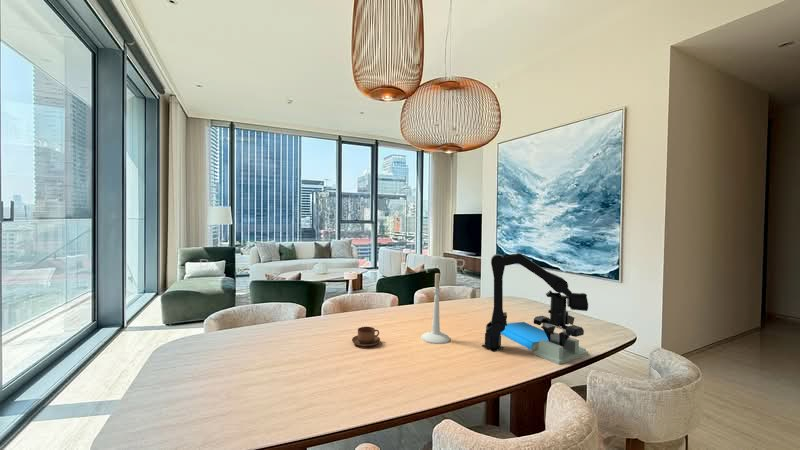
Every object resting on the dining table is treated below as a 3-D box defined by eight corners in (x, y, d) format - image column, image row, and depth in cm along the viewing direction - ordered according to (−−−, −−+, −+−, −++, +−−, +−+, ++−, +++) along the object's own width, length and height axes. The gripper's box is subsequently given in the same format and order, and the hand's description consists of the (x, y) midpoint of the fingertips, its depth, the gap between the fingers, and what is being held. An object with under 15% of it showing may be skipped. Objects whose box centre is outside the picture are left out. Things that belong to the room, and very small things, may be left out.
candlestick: (440, 346, 144) (442, 276, 143) (415, 339, 151) (417, 272, 151) (454, 338, 154) (456, 272, 153) (431, 331, 162) (432, 269, 161)
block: (558, 351, 134) (559, 336, 134) (549, 348, 138) (550, 333, 138) (563, 350, 136) (564, 335, 136) (554, 346, 139) (554, 332, 139)
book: (523, 321, 171) (563, 337, 147) (522, 330, 171) (563, 347, 147) (495, 324, 164) (532, 341, 141) (494, 333, 164) (532, 352, 141)
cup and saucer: (366, 336, 153) (366, 323, 153) (385, 343, 146) (386, 329, 146) (346, 343, 144) (346, 329, 144) (365, 351, 137) (366, 336, 136)
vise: (558, 364, 129) (559, 349, 128) (533, 354, 138) (534, 340, 138) (588, 354, 139) (588, 340, 139) (562, 345, 148) (563, 332, 148)
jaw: (574, 353, 136) (575, 338, 136) (554, 346, 143) (555, 332, 143) (578, 352, 137) (579, 337, 137) (558, 345, 145) (559, 331, 145)
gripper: (592, 311, 133) (590, 351, 133) (549, 301, 149) (548, 336, 149) (576, 315, 127) (574, 356, 127) (533, 303, 143) (532, 340, 143)
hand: (556, 346), depth 137 cm, fingers closed on block, 4 cm apart
